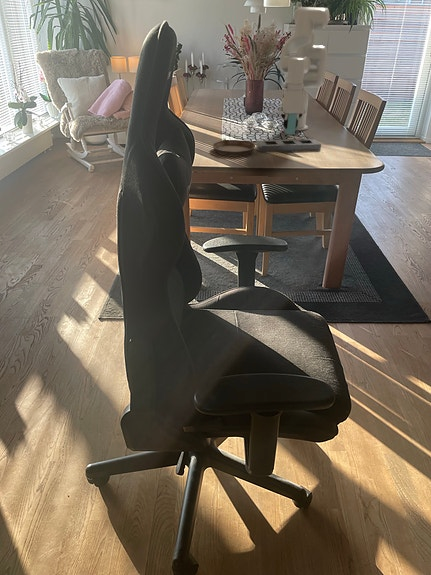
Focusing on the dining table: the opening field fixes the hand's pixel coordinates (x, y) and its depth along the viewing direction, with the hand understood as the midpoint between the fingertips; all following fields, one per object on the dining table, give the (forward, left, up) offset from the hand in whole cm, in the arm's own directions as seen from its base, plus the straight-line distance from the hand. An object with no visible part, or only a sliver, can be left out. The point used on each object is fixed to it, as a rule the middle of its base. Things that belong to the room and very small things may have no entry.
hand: (290, 127), depth 224 cm
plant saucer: (+2, -28, -11) cm, 30 cm away
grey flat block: (0, 0, -10) cm, 10 cm away
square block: (0, 0, -3) cm, 3 cm away
